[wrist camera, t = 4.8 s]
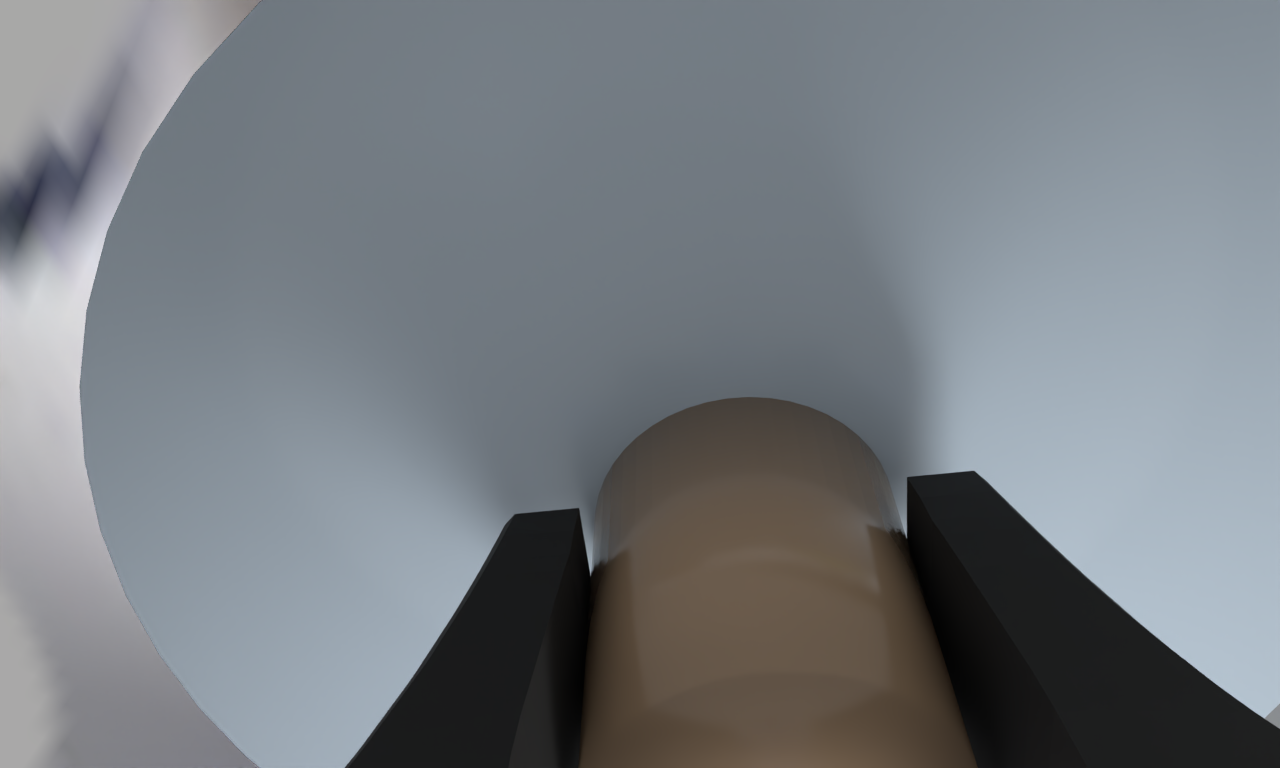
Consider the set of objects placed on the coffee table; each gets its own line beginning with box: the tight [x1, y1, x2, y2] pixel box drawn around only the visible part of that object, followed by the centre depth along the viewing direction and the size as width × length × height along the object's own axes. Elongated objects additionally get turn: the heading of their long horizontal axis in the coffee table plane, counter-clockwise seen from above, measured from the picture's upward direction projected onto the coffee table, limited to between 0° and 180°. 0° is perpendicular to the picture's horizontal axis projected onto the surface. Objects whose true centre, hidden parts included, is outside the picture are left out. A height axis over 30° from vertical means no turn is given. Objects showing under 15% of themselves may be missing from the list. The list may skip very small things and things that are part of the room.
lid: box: [80, 0, 1280, 768], centre depth 10 cm, size 13×13×4 cm
